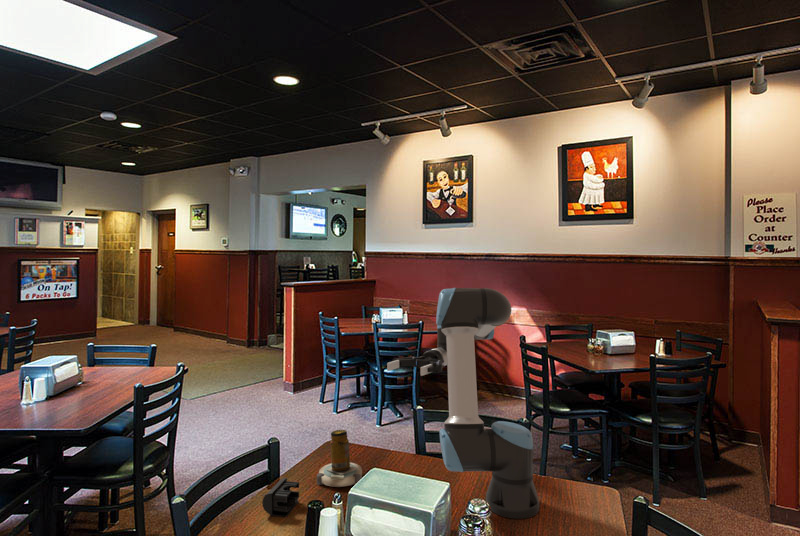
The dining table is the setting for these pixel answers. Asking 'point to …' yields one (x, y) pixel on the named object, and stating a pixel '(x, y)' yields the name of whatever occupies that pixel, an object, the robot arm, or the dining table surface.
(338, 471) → the condiment
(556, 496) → the dining table surface
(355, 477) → the base
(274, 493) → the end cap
